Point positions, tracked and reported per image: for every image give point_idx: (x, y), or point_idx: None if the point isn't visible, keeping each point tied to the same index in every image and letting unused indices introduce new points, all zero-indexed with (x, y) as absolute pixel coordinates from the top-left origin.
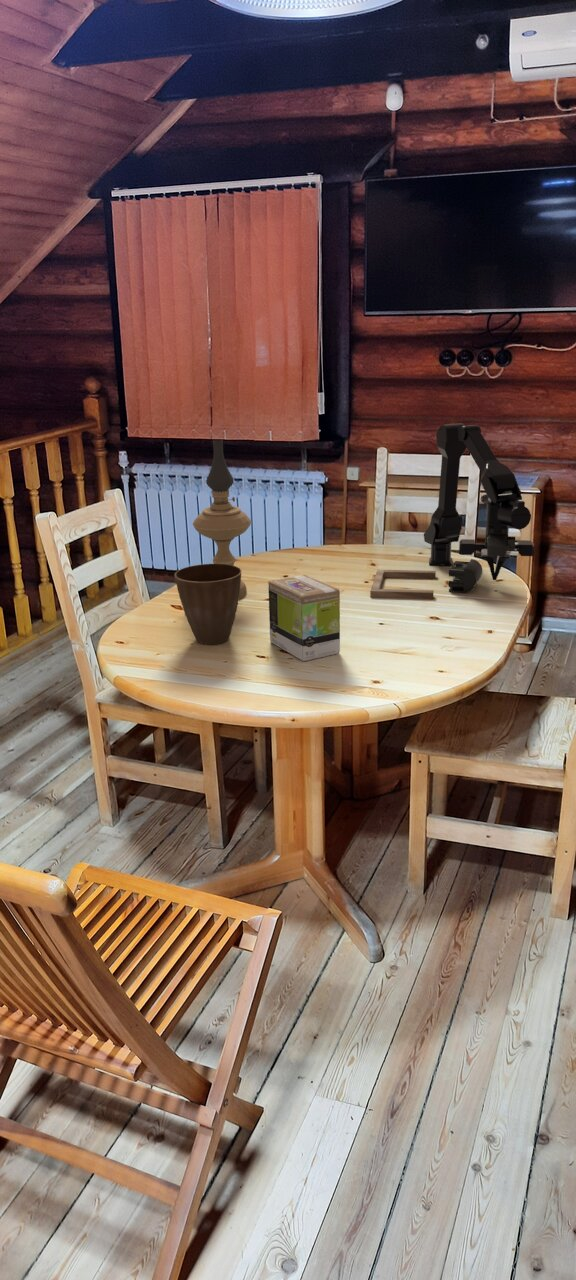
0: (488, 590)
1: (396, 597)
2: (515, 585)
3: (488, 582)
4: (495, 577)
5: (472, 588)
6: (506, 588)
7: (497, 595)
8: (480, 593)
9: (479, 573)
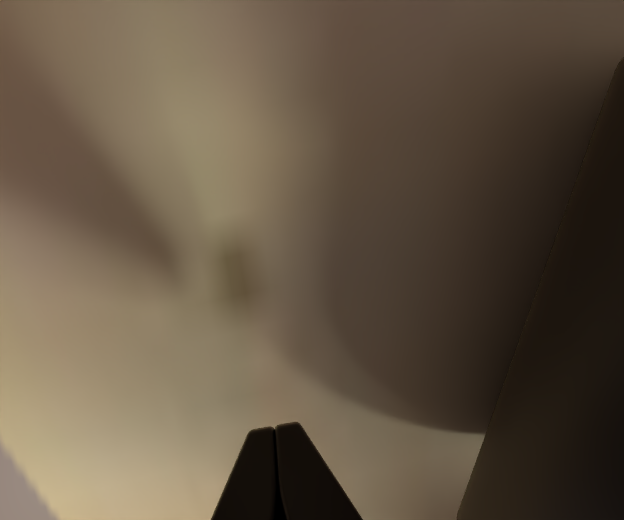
0: (329, 274)
1: None
2: (56, 499)
3: None
4: (261, 457)
5: (619, 62)
6: (124, 394)
7: (169, 71)
8: (433, 120)
9: (556, 474)
